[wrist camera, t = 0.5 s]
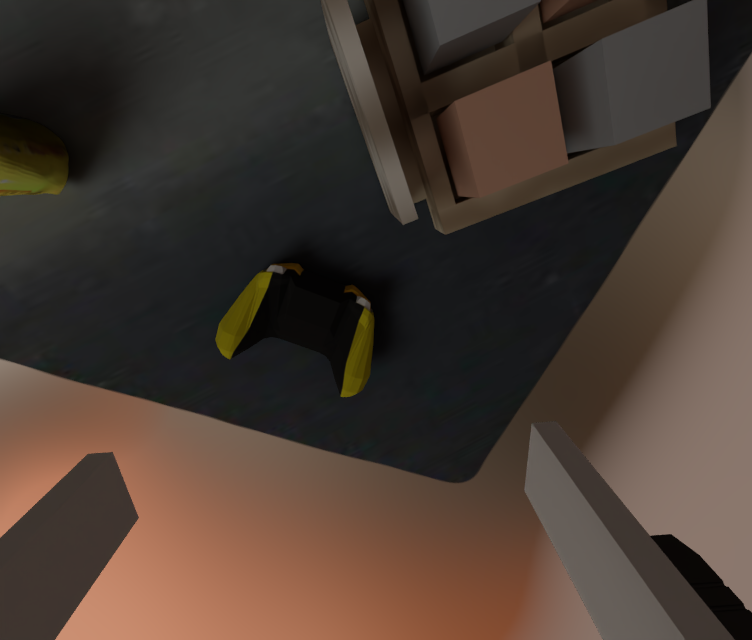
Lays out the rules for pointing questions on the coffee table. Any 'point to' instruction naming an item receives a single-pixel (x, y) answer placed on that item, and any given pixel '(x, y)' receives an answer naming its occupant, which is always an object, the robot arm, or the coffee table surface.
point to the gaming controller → (304, 321)
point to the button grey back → (636, 79)
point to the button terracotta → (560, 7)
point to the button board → (444, 86)
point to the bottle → (30, 158)
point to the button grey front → (461, 27)
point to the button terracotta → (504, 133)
